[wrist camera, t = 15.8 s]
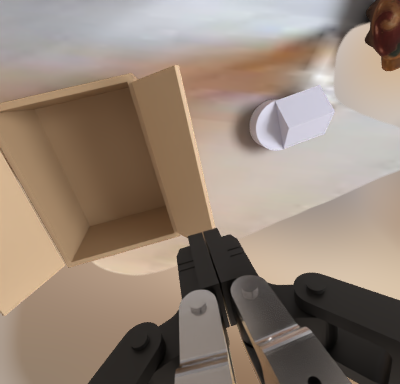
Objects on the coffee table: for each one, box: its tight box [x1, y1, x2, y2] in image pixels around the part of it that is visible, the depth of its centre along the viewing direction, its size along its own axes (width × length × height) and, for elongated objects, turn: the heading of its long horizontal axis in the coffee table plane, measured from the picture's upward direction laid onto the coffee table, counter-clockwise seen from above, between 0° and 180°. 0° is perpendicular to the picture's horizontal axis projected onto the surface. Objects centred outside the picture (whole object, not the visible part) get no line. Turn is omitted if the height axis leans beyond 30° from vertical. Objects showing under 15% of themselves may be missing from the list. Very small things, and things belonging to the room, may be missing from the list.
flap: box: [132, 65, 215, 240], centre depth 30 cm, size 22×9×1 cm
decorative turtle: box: [365, 0, 400, 71], centre depth 40 cm, size 10×15×8 cm, turn 22°
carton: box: [0, 73, 180, 268], centre depth 38 cm, size 24×18×12 cm
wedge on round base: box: [249, 85, 335, 150], centre depth 43 cm, size 9×7×13 cm
